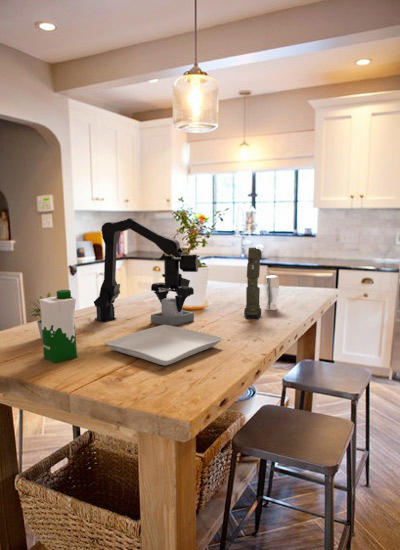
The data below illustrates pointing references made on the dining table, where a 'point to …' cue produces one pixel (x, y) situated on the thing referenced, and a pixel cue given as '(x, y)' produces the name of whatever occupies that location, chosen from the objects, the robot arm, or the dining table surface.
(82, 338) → the dining table surface
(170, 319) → the bin
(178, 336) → the square plate
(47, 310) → the milk carton
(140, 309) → the dining table surface
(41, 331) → the house plant
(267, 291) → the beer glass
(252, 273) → the mechanical leg
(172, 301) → the medicine box
